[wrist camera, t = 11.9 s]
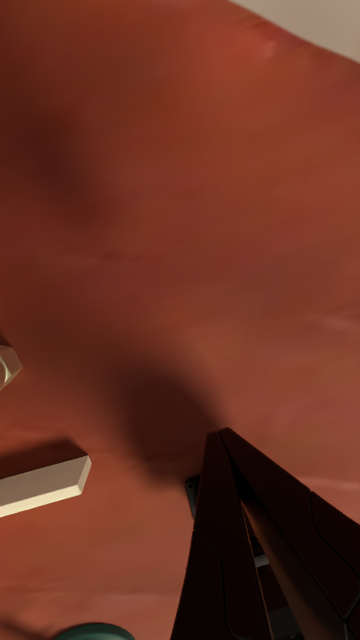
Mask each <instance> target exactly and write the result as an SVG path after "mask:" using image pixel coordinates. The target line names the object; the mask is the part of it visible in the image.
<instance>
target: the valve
mask: <svg viewBox="0 0 360 640" xmlns="http://www.w3.org/2000/svg"><path fill="white" fill-rule="evenodd" d="M22 368H23V367H22V364H21V362H20V360H19V358H18V356H17V354H16V352H15V350H14V349H13V347H9V346H3V345H0V391H1V389H2V388H3V387H5V386H6V385H7V384H9V383H10V382H11V381H12V379H13V378H14V377H15V376H16V375H17V374H18V373H19V371H20V370H21V369H22Z"/></svg>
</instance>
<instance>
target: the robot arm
mask: <svg viewBox="0 0 360 640" xmlns="http://www.w3.org/2000/svg"><path fill="white" fill-rule="evenodd" d="M185 485H186V490H187V494H188V497H189V501H190V505H191V508H192V512H193V516H194V525H193V532H192V538H191V545H190V551H189V557H188V562H187V567H186V574H185V578H184V583H183V587H182V592H181V596H180V601H179V605H178V609H177V613H176V617H175V621H174V625H173V629H172V633H171V637H170V640H360V525H359V524H358V523H356V522H355V521H353V520H352V519H350V518H349V517H347V516H346V515H345V514H343V513H342V512H340V511H339V510H338V509H336V508H335V507H334V506H332V505H331V504H329V503H328V502H327V501H325V500H324V499H323V498H321V497H320V496H319V495H317V494H316V493H315V492H313V491H311V490H310V489H309V488H308V487H307V486H305V485H304V484H303V483H301V482H300V481H299V480H298V479H296V478H295V477H294V476H292V475H291V474H290V473H288V472H287V471H286V470H284V469H283V468H282V467H280V466H279V465H278V464H276V463H275V462H274V461H272V460H271V459H270V458H269V457H267V456H266V455H265V454H263V453H262V452H261V451H259V450H258V449H257V448H255V447H254V446H253V445H251V444H250V443H249V442H247V441H246V440H245V439H243V438H242V437H241V436H239V435H238V434H237V433H236V432H234V431H233V430H232V429H230V428H229V427H226V428H223V429H220V430H219V431H213V432H210V433H208V434H207V437H206V444H205V450H204V457H203V464H202V471H201V475H200V476H197V477H193V478H190V479H187V480H186V482H185Z"/></svg>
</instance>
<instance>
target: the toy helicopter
mask: <svg viewBox="0 0 360 640" xmlns="http://www.w3.org/2000/svg"><path fill="white" fill-rule="evenodd" d="M55 640H135V638H134V637H133V636H132V635H131V634H130V633H129V632H128V631H126V630H124V629H122V628H120V627H117V626H114V625H108V624H91V625H84V626H80V627H77V628H74V629H71V630H69V631H67V632H65V633H63V634H61V635H60V636H58V637H57V638H56V639H55Z"/></svg>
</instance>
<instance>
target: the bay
mask: <svg viewBox="0 0 360 640" xmlns="http://www.w3.org/2000/svg"><path fill="white" fill-rule="evenodd" d="M91 464H92V463H91V460H90V458H89V455H87V456H84V457H80V458H77V459H73V460H69V461H66V462H62V463H58V464H55V465H51V466H47V467H44V468H40V469H36V470H33V471H29V472H25V473H22V474H18V475H15V476H11V477H7V478H4V479H0V517H3V516H6V515H10V514H13V513H17V512H20V511H24V510H27V509H31V508H34V507H38V506H41V505H45V504H48V503H52V502H55V501H59V500H62V499H66V498H69V497H73V496H76V495H80V494H81V493H82V490H83V488H84V485H85V482H86V479H87V476H88V473H89V470H90V467H91Z"/></svg>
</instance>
